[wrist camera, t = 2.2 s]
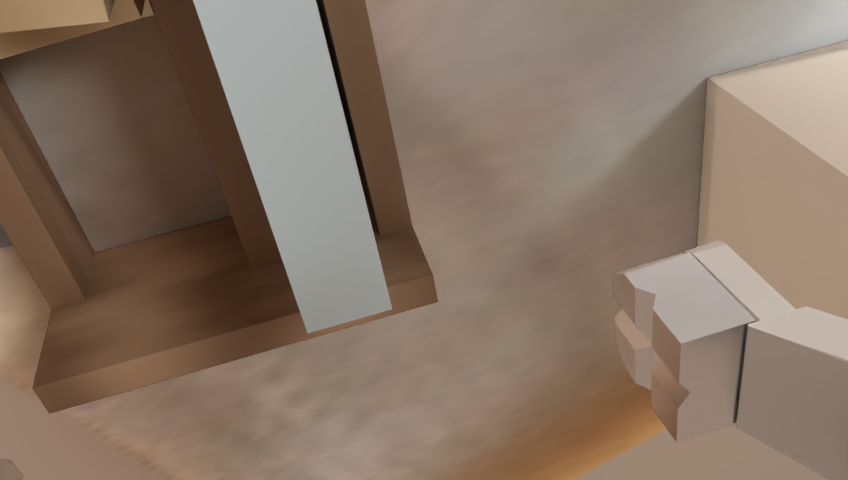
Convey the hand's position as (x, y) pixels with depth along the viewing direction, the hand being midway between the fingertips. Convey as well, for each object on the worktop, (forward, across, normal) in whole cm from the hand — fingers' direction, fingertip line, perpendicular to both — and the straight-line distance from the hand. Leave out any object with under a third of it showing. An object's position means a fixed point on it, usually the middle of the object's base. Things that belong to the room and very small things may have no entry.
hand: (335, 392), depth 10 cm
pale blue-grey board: (+19, 0, 0) cm, 19 cm away
